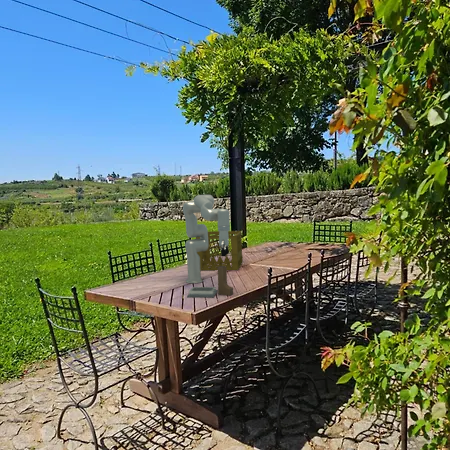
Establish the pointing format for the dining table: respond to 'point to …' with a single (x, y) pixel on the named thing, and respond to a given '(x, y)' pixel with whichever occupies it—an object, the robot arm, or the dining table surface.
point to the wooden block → (223, 282)
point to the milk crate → (235, 249)
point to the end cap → (202, 292)
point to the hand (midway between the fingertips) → (224, 255)
